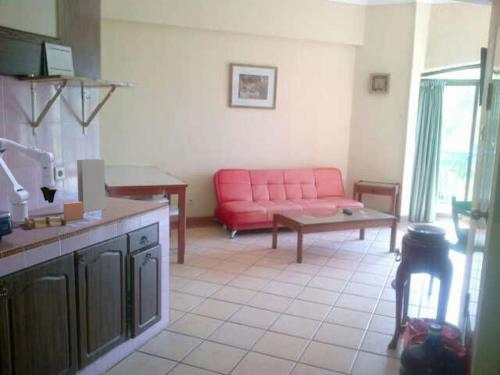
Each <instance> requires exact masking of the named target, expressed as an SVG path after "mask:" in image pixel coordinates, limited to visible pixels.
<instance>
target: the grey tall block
mask: <svg viewBox="0 0 500 375" xmlns="http://www.w3.org/2000/svg"><path fill="white" fill-rule="evenodd" d="M76 173H77V202H83V212H85V213H91V212H90V211H92V212H98V211H104V209H105V210H106V181H105V179H106V178H105V177H106V176H105V175H106V173H105V159H104V158H103V159H100V158H88V159H86V158H85V159H76Z"/></svg>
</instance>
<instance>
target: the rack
mask: <svg viewBox="0 0 500 375" xmlns="http://www.w3.org/2000/svg"><path fill="white" fill-rule="evenodd" d="M58 216H59V217H61V225H59V226H49V217H50V216H48V217H45V216H44V217H43V218H45V219H46V227H42V228H34V220H33V219H39V218H40V217H36V218H35V217H34V218H29V217H28V218H29V219H28V218H27V217H25V218H24V220H25V221H24V224H25V226H27V227H28V228H29V229H30V230H38V229H47V228H48V229H49V228H56V227H65V226H67V224H66V219H64V216H63V217H62V215H60V214H57V213H56V214H55V216H53V217H58Z"/></svg>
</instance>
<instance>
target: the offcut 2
mask: <svg viewBox="0 0 500 375" xmlns="http://www.w3.org/2000/svg"><path fill="white" fill-rule="evenodd" d="M48 217H49V226H58V227H60V226H59V225H61V217H62V216H61V217H59V216H58V217H54V216H48Z"/></svg>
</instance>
